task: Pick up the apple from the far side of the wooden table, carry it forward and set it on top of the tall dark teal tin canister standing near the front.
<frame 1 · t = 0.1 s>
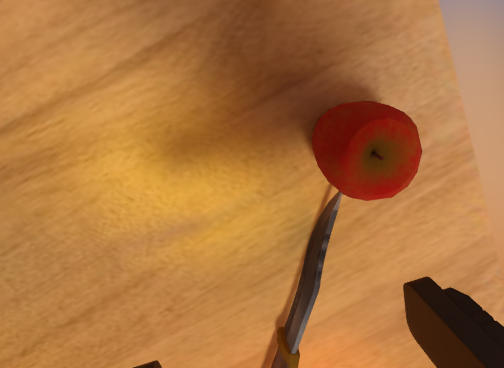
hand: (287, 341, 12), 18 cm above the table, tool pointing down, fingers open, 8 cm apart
knife: (286, 301, 33), on the table
apple: (336, 133, 28), on the table
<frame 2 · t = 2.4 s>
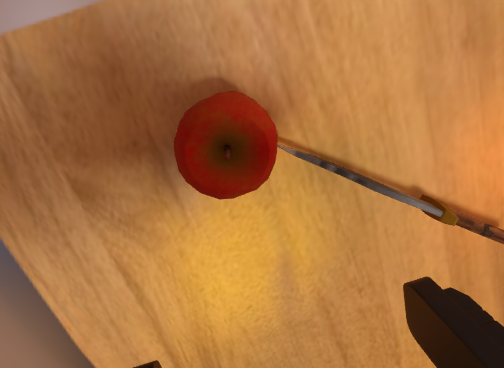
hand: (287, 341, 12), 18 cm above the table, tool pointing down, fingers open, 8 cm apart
knife: (393, 186, 31), on the table
apple: (219, 127, 27), on the table
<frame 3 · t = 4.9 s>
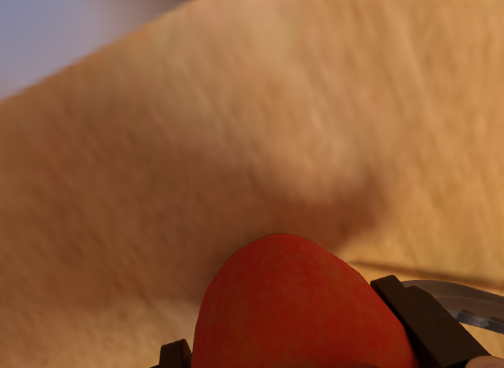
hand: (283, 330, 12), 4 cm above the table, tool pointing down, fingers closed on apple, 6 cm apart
apple: (263, 265, 16), on the table, touching gripper
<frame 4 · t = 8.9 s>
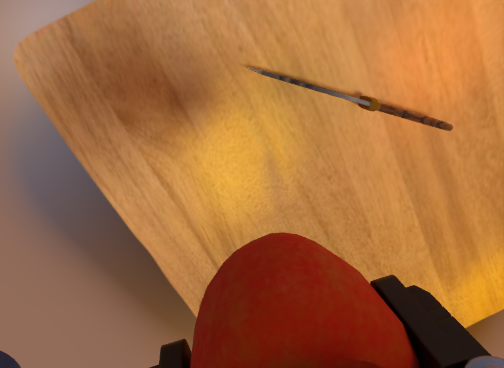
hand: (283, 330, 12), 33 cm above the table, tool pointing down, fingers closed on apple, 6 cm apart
knife: (340, 94, 43), on the table
apple: (263, 264, 16), point 29 cm above the table, touching gripper
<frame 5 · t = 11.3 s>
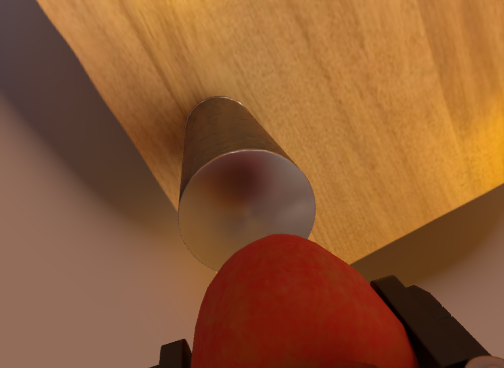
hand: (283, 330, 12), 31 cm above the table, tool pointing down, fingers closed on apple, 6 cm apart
apple: (263, 265, 16), point 27 cm above the table, touching gripper
tin can: (220, 131, 40), on the table
when the fingers open (26 cm above the table, at t = 13.1 s): apple stays where it is, resting on tin can.
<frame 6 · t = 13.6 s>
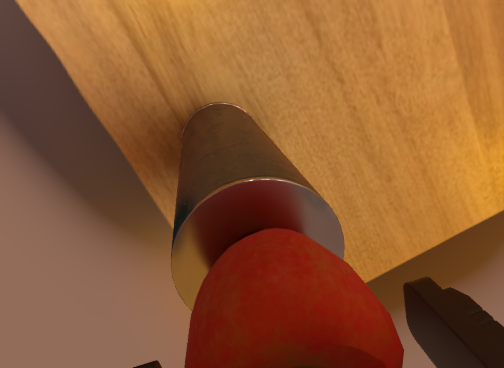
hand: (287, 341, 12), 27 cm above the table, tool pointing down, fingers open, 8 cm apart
apple: (258, 259, 16), point 22 cm above the table, touching tin can
tin can: (221, 141, 36), on the table, touching apple
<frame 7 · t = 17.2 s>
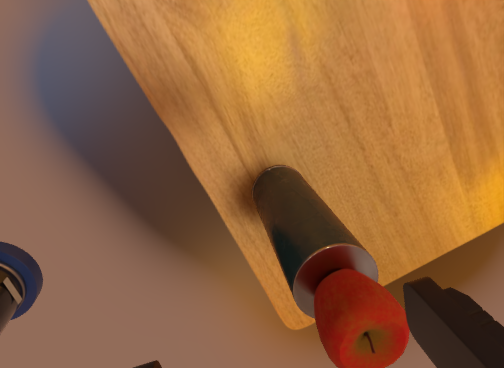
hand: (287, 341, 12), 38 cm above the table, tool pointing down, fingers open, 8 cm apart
apple: (334, 282, 31), point 22 cm above the table, touching tin can
tin can: (278, 191, 52), on the table, touching apple
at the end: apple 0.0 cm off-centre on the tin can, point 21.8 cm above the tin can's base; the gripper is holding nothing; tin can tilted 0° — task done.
